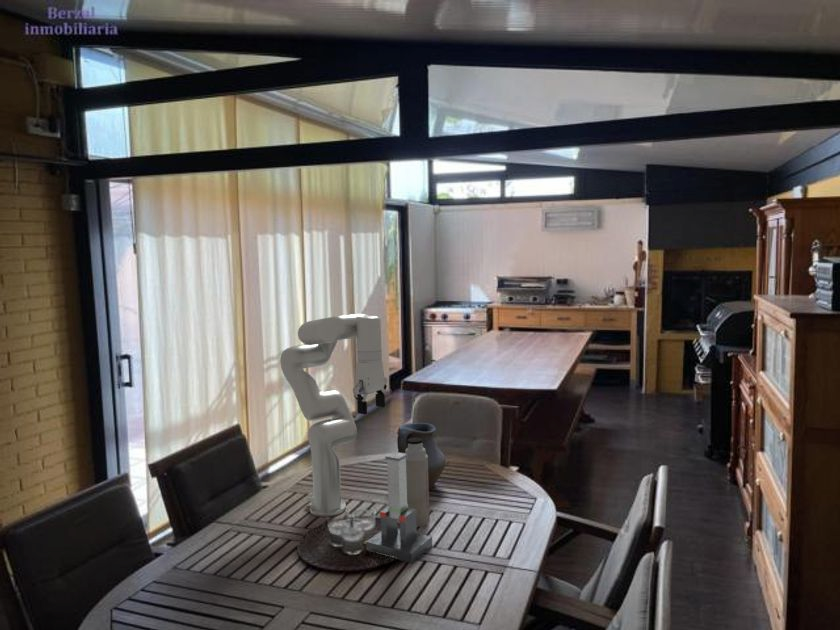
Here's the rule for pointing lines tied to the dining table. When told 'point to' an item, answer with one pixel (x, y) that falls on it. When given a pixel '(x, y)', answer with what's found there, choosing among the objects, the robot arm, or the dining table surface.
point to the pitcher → (434, 454)
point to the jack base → (399, 537)
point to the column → (397, 484)
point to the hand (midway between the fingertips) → (371, 410)
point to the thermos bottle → (417, 480)
